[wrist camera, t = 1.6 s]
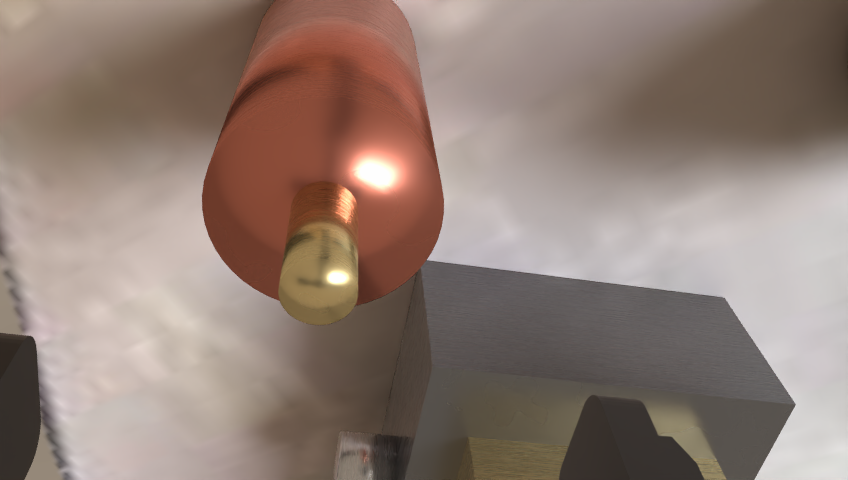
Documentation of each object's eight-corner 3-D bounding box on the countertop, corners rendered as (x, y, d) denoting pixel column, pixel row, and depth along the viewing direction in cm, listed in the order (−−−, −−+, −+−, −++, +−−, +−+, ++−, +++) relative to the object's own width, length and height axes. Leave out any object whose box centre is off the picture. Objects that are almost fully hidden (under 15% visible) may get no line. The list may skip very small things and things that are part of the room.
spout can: (262, -39, 24) (179, 145, 13) (429, -9, 25) (487, 188, 14) (249, 118, 26) (168, 386, 15) (400, 141, 27) (430, 411, 16)
